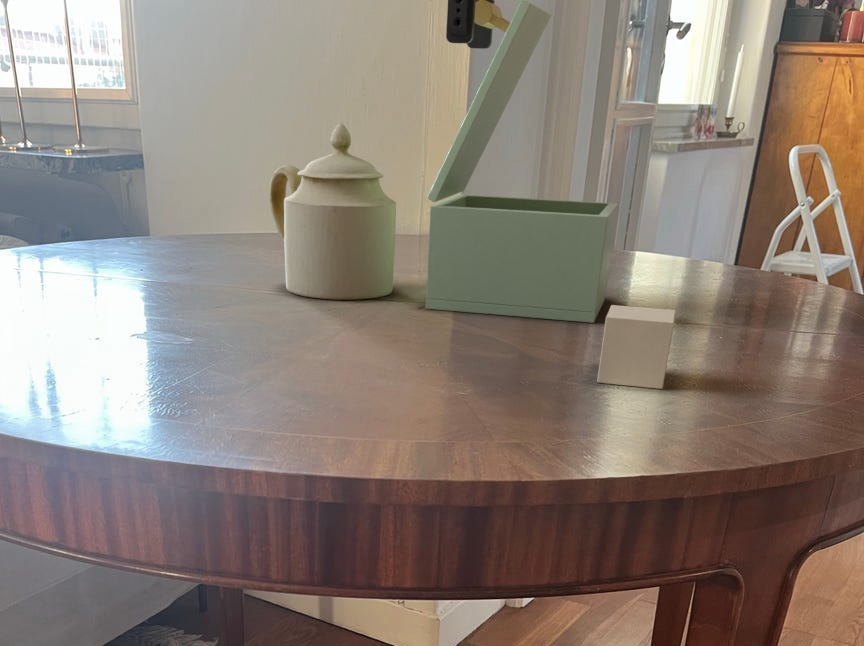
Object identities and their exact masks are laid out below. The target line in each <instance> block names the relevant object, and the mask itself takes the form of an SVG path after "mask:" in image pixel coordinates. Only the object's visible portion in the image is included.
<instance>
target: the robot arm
mask: <svg viewBox="0 0 864 646" xmlns="http://www.w3.org/2000/svg"><path fill="white" fill-rule="evenodd" d="M477 1H479V0H447V12H446V13H447V14H446V32H445V38H446V41H447V42H448V43H450V44H466V46H467V47H468V48H470V49H481V50H482V49H485V50H486V49H489V48H490V47H491V46H492V43H493V29H494V28H493V29H490V28H487V27H484V26H481V25H478V24H476V23H475V22H474V18H475V3H476V2H477ZM486 1H488V2H490V3H492V4H494V5H495V3H496V2H495V0H486Z"/></svg>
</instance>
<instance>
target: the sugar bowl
mask: <svg viewBox="0 0 864 646" xmlns="http://www.w3.org/2000/svg"><path fill="white" fill-rule="evenodd" d="M351 143H352V138H351V134H350V131H349V129H348V128H347V127H346V126H345V124H344V123H343V122H340V123H339V124H337V125H336V126H335V128H334V130H333V131H332V134H331V137H330V145H331V146H332V147H333V150H334V151H333V153H331V154H328V155H325V156H322V157H319V158H317V159H314V160H312V161H311V162H308V164H307V165H306V167H305V168H304V169H300V168H298V167H296V166H294V165H291V164H290V165H289V164H285V165H281V166H280V167H278V168H277V169H276V170H275V171H274V172H273V173H272V176H271V178H270V185H269V202H270V203H269V204H270V210H271V215H272V219H273V223H274V227H275V229H276V231H277V233H278V235H279V237H280V239H281V240H282V243H283V244H284V263H285V264H284V267H285V269H284V270H285V287H286V290H287V291H288V292H289V293H292V294H293V295H297V296H301V297H307V298H313V299H323V300H368V299H377V298H381V297H385V296H388V295H390V294H391V293H392V292H393V290H394V289H393V287H394V272H395V271H394V270H395V256H396V238H397V237H396V233H397V202H396V201H395V200H393V199H392V198H391V197H389V196H388V195H387V194H386V193H385V192H384V190H383V188H382V186H381V183H380V179H382V178H384V176H385V175H384V174H382V173H381V172H379V171H377V169H376V167H375V165H373V164H372V163H371V162H369V161H367V160H364V159H362V158H359V157H357V156H355V155H352V154H350V153H349V152H348V151H349V148H350V146H351ZM288 183H289V187H290V191H291V194H290V195H288V196H287V184H288Z"/></svg>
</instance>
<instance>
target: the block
mask: <svg viewBox="0 0 864 646" xmlns="http://www.w3.org/2000/svg"><path fill="white" fill-rule="evenodd" d="M675 318H676V309H669V308H668V309H667V308H666V309H665V308H654V307H640V306H631V305H619V304H618V305H617V304H611V305H610V307H609V310H608V312H607V313H606V316H605V322H604V330H603V337H602V342H601V343H602V344H601V351H600V357H599V364H598V365H599V366H598V371H597V372H598V373H597V379H596V382H597V383H598V384H606V385H618V386H627V387H636V388H648V389H659V390H663V389H664V383H665V378H666V373H667V367H668V362H669V361H668V360H669V355H670V349H671V343H672V337H673V331H674V325H675Z"/></svg>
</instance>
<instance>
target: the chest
mask: <svg viewBox="0 0 864 646" xmlns="http://www.w3.org/2000/svg"><path fill="white" fill-rule="evenodd" d="M429 209H430V210H429V226H428V227H429V228H428V229H429V230H428V233H429V234H428V247H427V248H428V250H427V269H426V271H427V272H426V289H425V290H426V293H425V309H426V310H436V311H437V310H438V311H449V312H461V313H473V314H482V315H483V314H484V315H496V316H507V317H519V318H533V319H541V320H554V321H568V322H577V323H579V322H580V323H590V324H594V323H595V321H596V319H597V317H598V315H599V313H600V311H601V308H602V306H603V304H604V302H605V300H606V299H607V298H606V297H607V291H608V290H607V289H608V281H609V277H610V276H609V275H610V269H611V261H612V253H613V246H614V238H615V231H616V225H617V217H618V212H619V211H618V210H619V203H617V202H602V201H583V200H566V199H565V200H564V199H548V198H530V197H516V196H515V197H513V196H497V195H496V196H495V195H478V194H477V195H476V194H460V193H459V195H458V194H457V195H456V196H455V195H454V196H453V197H449V198H448V199H444V200H442V201H439V202H437V203H434V204H433V205H430V207H429Z"/></svg>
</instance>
